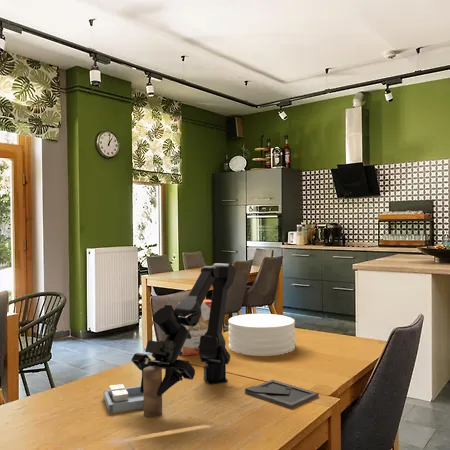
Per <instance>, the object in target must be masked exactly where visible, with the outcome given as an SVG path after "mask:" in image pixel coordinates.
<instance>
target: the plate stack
mask: <svg viewBox="0 0 450 450" xmlns="http://www.w3.org/2000/svg"><path fill="white" fill-rule="evenodd" d="M295 321H296V320H295V319H294V318H292V317H290V316H286V315H282V314H276V313H275V314H272V313H247V314H240V315H235V316H232V317H230V318H229V319H228V349H229V350H230V351H232V352H234V353H237V354H240V353H241V355H246V356H253V357H255V356H256V357H257V356H258V357H259V356H260V357H267V356H268V357H269V356H271V357H272V356H280V354H281V355H285V354H284V353H286V354H288V352H289V353H291V352H293V351H294V350H295V349H296V344H295V343H296V339H295V337H296V334H295V333H296V331H295V329H296V328H295V327H296V326H295V323H296V322H295Z"/></svg>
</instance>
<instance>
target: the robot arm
mask: <svg viewBox="0 0 450 450" xmlns="http://www.w3.org/2000/svg"><path fill="white" fill-rule="evenodd" d="M236 273H237V272H236V268H235V266H234V265H233V264H232V263H220V262H218V263H216V262H215V263H213V264H212V265H204V266H202V267H201V269H200V274H199V275H198V277H197V278H196V281H195V283H194V285H193V286H192V288H191V289H190V292H189V293H188V296H187V297H186V298H184V299H183V300H181V301H179V302H180V303H179V302H178V304H177V306H176V307H175V308H174V307H173V306H172V305H171V304H164V306H163V307H161V308H159V309H158V310H156V312H154V313H153V317H152V320H153V321H152V322H154V324H155V325H156V327H158V329H159V330H160V331H161V333H162V334H163V335H165V337H164V339H163V340H159V341H156V340H147V342H146V347H145V350H144V352H145V353H140V352H136V353H134V354H133V356H132V358H131V359H130V360H131V362H132V363H133V364H134V365H135V367H136V368H137V369H139V371H141V380H140V381H141V382H140V386H141V388H140V392H141V393H143V392H144V390H143V369H144V368H146V367H150V366H158V367H161V368H162V370H165V373H164V377H163V378H162V383H161V385H160V387H159V390H158V393H157V395H158V396H159V397H160V396H161V395H162V396H163V394H165V393H166V392H167V391H168V390H170V389H171V388H172V387H173V386H174V385H176V384H177V383H178V382H181V381H183V379H185V380H190V381H192V380H193V379H194V377H195V375H196V369H195V368H194V367H193V366H192V364H191V363H190V361H189V360H185V359H179V357H182V356H183V355H182V354H183V353H182V352H181V349H182V347H183V345H184V343H185V340H186V339H191V334H190V330H187V329H186V327H185V326H191V327H193V326H196V325H197V323H198V321H199V319H200V316H201V313H202V312H201V305H202V303H203V301H204V300H206V297H207V295H208V293H209V292H210V289H211V287H212V295H211V300H212V301H211V308H210V315H209V322H208V329H207V332H206V333H205V334H204V335H201V337H200V344H199V354H198V355H199V358H200V362H201V363H204V366H203V379H204V380H205V381H206V382H207V384H209V385H212V384H213V385H214V384H219V383H220V384H221V383H227V382H228V381H229V380H228V379H227V376H226V371H227V370H226V365H228V364H229V362H230V360H231V354H230V352H229V351H228V350H227V348H226V339H225V337H224V335H223V325H224V319H225V314H226V312H225V311H226V304H227V303H226V302H227V297H228V290H229V289H230V288H231V286H232V285H233V284H234V281H235V280H234V279H235V276H236ZM146 353H147V354H146ZM148 353H150V354H151V357H152V358H154V359H151V357H149V355H148Z"/></svg>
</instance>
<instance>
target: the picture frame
mask: <svg viewBox="0 0 450 450" xmlns="http://www.w3.org/2000/svg"><path fill="white" fill-rule="evenodd" d="M244 394H246V395H249V396H251V397H254V398H258V399H260V400H261V399H262V400H264V401H267V402H270V403H272V404H276V405H279V406H280V407H281V406H282V407H285V408H287V409H290V410H292V409H295V408H297V407H299V406H302V405H304V404H306V403H309V401H312V400H315V399H316V397H317V398H319V397H318V396H319V392H316V391H312V390H309V389H306V388H303V387H299V386H296V385H292V384H289V383H286V382H281V381H279V380H274V379H271V380H268V381H265V382H262V383H259V384H257V385H252V386H249V387H244Z"/></svg>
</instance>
